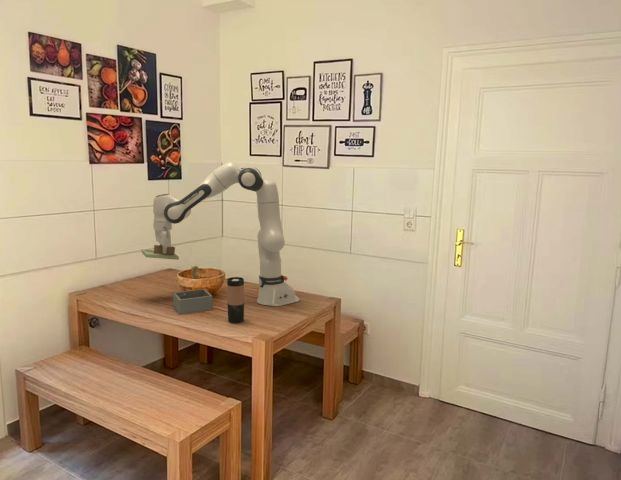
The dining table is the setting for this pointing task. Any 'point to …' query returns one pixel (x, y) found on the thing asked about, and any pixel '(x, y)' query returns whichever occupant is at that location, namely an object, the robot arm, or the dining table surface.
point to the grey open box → (192, 301)
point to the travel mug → (235, 299)
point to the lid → (158, 253)
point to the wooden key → (194, 272)
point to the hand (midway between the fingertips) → (163, 252)
